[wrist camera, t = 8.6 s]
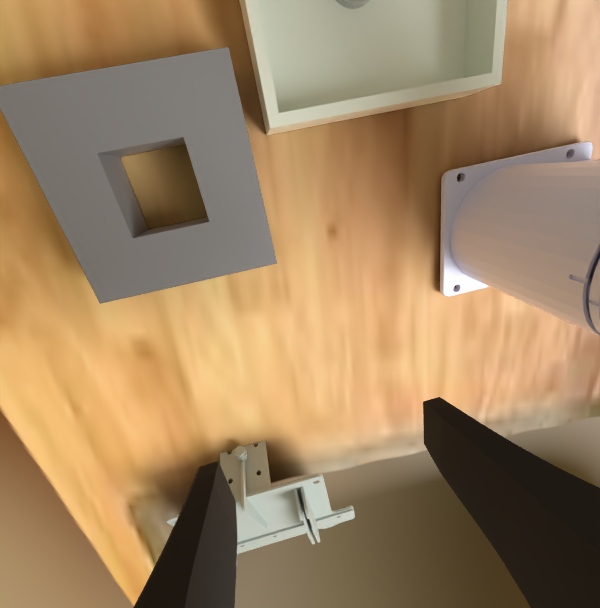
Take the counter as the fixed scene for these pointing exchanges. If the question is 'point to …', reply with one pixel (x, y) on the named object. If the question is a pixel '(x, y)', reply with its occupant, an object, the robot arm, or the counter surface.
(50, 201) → the pin block
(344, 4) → the steel pin
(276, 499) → the metal bracket
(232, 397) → the counter surface
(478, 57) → the tray
